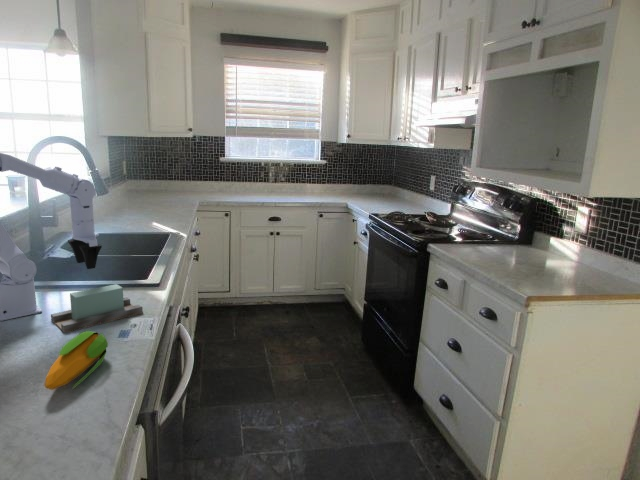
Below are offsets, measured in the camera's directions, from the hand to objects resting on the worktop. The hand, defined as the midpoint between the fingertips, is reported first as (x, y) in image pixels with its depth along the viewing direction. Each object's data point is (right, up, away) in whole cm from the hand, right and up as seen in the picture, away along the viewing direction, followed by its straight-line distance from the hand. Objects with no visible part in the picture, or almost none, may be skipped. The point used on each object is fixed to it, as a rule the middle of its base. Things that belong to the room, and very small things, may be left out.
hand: (86, 265), depth 137 cm
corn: (+20, -21, -42) cm, 51 cm away
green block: (+10, -13, -13) cm, 20 cm away
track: (+10, -13, -13) cm, 21 cm away
